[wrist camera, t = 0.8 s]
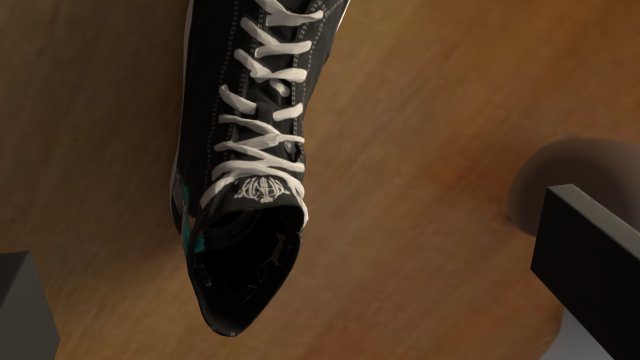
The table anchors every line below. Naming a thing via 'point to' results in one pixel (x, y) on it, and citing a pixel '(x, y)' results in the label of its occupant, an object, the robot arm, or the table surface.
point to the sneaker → (245, 147)
